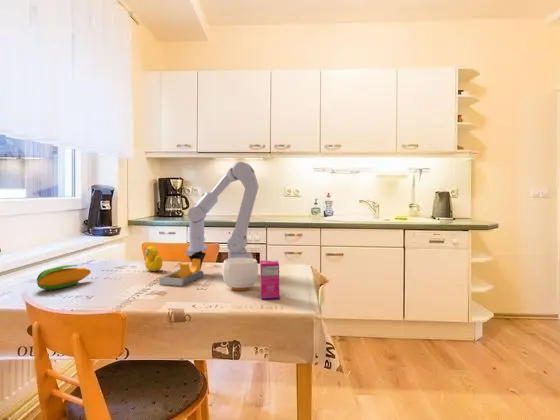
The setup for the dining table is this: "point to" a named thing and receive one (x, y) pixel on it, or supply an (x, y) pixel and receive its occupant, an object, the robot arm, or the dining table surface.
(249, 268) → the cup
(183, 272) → the pipe clamp
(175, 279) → the grey shallow rectangular tray
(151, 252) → the duckling
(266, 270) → the supplement box
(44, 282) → the corn
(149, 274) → the dining table surface
